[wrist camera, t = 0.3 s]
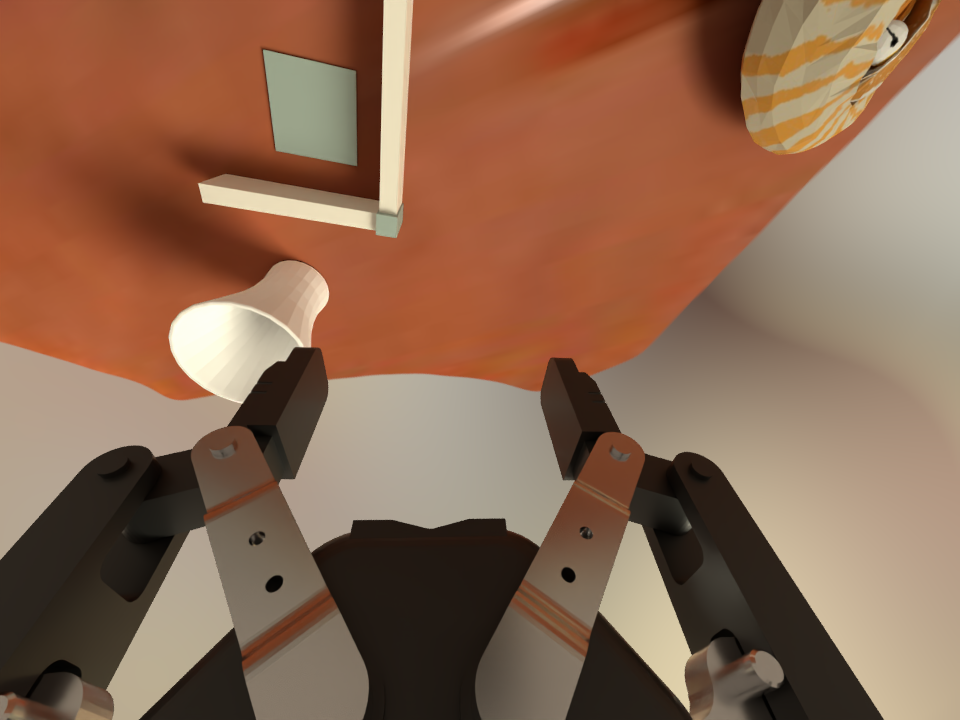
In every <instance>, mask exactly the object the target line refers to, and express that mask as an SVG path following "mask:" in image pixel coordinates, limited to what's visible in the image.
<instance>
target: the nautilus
mask: <svg viewBox="0 0 960 720" xmlns="http://www.w3.org/2000/svg"><path fill="white" fill-rule="evenodd" d="M940 2H941V0H762V2H761V4H760V6H759V8H758V10H757V13H756V16H755V19H754V22H753V24H752V27H751V30H750V33H749V37H748V40H747V43H746V47H745V50H744V53H743V57H742V66H741V100H742V105H743V110H744V116H745V121H746V126H747V129H748V131H749V133H750V135H751V137H752V139H753V141H754V142H755V143H756V144H758V145H760V146H761V147H763V148H764V149H766V150H768V151H770V152H773V153H775V154H793V153H801V152H803V151H806V150H809V149H811V148H814V147H816V146H818V145H820V144H822V143H824V142H825V141H827V140H829V139H830V138H832V137H834V136H835V135H837V134H838V133H840V132H841V131H842V130H844V129H845V128H847V127H848V126H850V125H851V124H852V123H853V122H854V121H855V120H856V118H857V117H858V116H859V115H860V114H861V113H862V111H863V110H864V109H865V107H866V106H867V104H868V102H869V101H870V99H871V97H872V96H873V94H874V92H875V90H876V89H877V88H878V87H879V86H880V85H881V84H882V82H883V81H884V80H885V79H886V78H887V77H888V75H889V74H890V73H891V72H892V71H893V70H894V68H895V67H896V66H897V65H898V64H899V63H900V61H901V60H902V59H903V58H904V57H905V56H906V54H907V53H908V52H909V51H910V49H911V48H912V47H913V45H914V44H915V43H916V41H917V40H918V39H919V37H920V36H921V35H922V34H923V32H924V31H925V29H926V28H927V27H928V25H929V23H930V20H931V18H932V16H933V14H934V12H935V10H936V9H937V7H938V5H939V3H940Z"/></svg>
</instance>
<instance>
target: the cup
mask: <svg viewBox="0 0 960 720" xmlns="http://www.w3.org/2000/svg"><path fill="white" fill-rule="evenodd" d="M328 298H329V290H328V286H327V284H326V282H325V280H324V278H323V277H322V276H321V275H320V273H319V272H317V271H316V270H315V269H314V268H313V267H311V266H309V265H307V264H305V263H302V262H298V261H290V260H287V261H282V262H279V263H277V264H275V265H274V266H273V267H272V268H271V269H270V270H269V272H268V273H267V274H266V276H265V277H264V279H262V280H261V281H260V282H259V283H257V284H256V285H255V286H253V287H251V288H249V289H247V290H245V291H242V292H238V293H235V294H231V295H228V296H224V297H221V298H217V299H213V300H209V301H206V302H202V303H198V304H194V305H192V306H190V307H188V308H187V309H185V310H183V311H181V312H180V313H179V314H178V316H177V317H176V318H175V319H174V321H173V322H172V323H171V328H170V332H169V341H170V347H171V352H172V354H173V355H174V357H175V359H176V361H177V363H178V365H179V366H180V367H181V368H182V369H183V370H184V372H185V373H186V374H187V375H188V376H189V377H190V378H191V379H192V380H194V381H195V382H196V383H198V384H199V385H200V386H202V387H203V388H204V389H206V390H208V391H210V392H212V393H214V394H216V395H218V396H220V397H222V398H225V399H228V400H231V401H234V402H238V403H243V402H244V401H245V399H246V398H247V396H248V395H249V393H251V390H252V389H253V387H254V386H255V384H257V381H258V380H259V378H260V377H261V375H262V374H263V372H264V371H265V370H266V369H267V368H269V367H270V366H272V365H273V364H274V363H276V362H277V361H286V360H287V358H288V356H289V355H290V353H291V351H292V350H293V348H295V347H311V332H312V328H313V323H314V321H315V318H316V316H317V314H318V313H319V312H320V311H321V310H322V309H323V308H324V307H325V305H326V303H327V301H328Z"/></svg>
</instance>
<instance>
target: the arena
mask: <svg viewBox="0 0 960 720" xmlns="http://www.w3.org/2000/svg"><path fill="white" fill-rule="evenodd" d="M412 12H413V0H384V16H383V63H382V110H381V157H380V201H378V200H372V199H366V198H361V197H355V196H349V195H344V194H338V193H332V192H327V191H321V190H315V189H310V188H304V187H298V186H293V185H287V184H281V183H275V182H270V181H264V180H258V179H253V178H247V177H241V176H236V175H230V174H224V175H221V176H218V177H215V178H212V179H209V180H206V181H203V182H200V183H198V184H199V188H200V192H201V196H202V200H203V202H204V203H210V204H216V205H222V206H228V207H234V208H241V209H247V210H253V211H259V212H265V213H271V214H278V215H284V216H290V217H296V218H302V219H308V220H315V221H321V222H327V223H333V224H339V225H345V226H351V227H358V228H364V229H370V230H376V235H381V236H387V237H393V238H397V235H398V232H399V230H400V227H401V224H402V220H403V203H402V193H403V175H404V157H405V139H406V121H407V103H408V85H409V67H410V48H411V30H412ZM263 53H264V61H265V69H266V77H267V85H268V93H269V101H270V108H271V116H272V124H273V132H274V140H275V148H276V151H280V152H285V153H291V154H296V155H301V156H306V157H312V158H317V159H322V160H328V161H333V162H338V163H343V164H349V165H354V166H357V102H356V71H354V70H350V69H345V68H341V67H337V66H332V65H328V64H324V63H319V62H315V61H311V60H306V59H302V58H298V57H293V56H289V55H285V54H281V53H276V52H272V51H268V50H263Z"/></svg>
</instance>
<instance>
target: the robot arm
mask: <svg viewBox="0 0 960 720" xmlns="http://www.w3.org/2000/svg"><path fill="white" fill-rule="evenodd" d="M327 396H328V380H327V375H326V370H325V366H324V361H323V356H322V352H321V349H320V348H312V347H295V348H293V350H292V351H291V353H290V355H289V356H288V358H287V360H286V361H277V362H276V363H274V364H273V365H272V366H270V367H269V368H267V369H266V370H265V371H264V372H263V374H262V375H261V377H260V378H259V380H258V381H257V384H255V386H254V387H253V389H252V390H251V393H249V395H248V396H247V398H246V399H245V401H244V402H243V404H242V405H241V407H240V408H239V410H238V411H237V413H236V414H235V416H234V417H233V419H232V420H231V422H230V423H229V425H228V426H227V427H224V428H221V429H218V430H215V431H213V432H211V433H209V434H207V435H206V436H204V437H203V438H202V439H200V440H199V441H198V442H197V444H196V445H195V446H194V447H193V449H191V450H187V451H182V452H177V453H173V454H169V455H164V456H159V457H154V455H153V454H152V452H151V451H150V450H149V449H148V448H146V447H143V446H126V447H121V448H117V449H114V450H111V451H109V452H107V453H104V454H102V455H100V456H99V457H97V458H96V459H94V460H92V461H91V462H90V463H88V464H87V465H86V466H85V467H84V468H83V469H82V470H81V471H80V472H79V473H78V474H77V475H76V476H75V477H74V479H73V480H72V481H71V482H70V483H69V484H68V485H67V486H66V488H65V489H64V490H63V491H62V492H61V493H60V494H59V495H58V496H57V498H56V499H55V500H54V501H53V502H52V503H51V504H50V505H49V506H48V508H47V509H46V510H45V511H44V512H43V513H42V514H41V515H40V516H39V518H38V519H37V520H36V521H35V522H34V523H33V524H32V525H31V526H30V528H29V529H28V530H27V531H26V532H25V533H24V534H23V535H22V536H21V538H20V539H19V540H18V541H17V542H16V543H15V544H14V545H13V547H12V548H11V549H10V550H9V551H8V552H7V553H6V555H4V557H3V558H2V559H1V560H0V720H112V717H113V713H114V703H113V698H112V696H111V694H110V693H109V692H108V691H106V689H107V687H108V685H109V683H110V681H111V679H112V677H113V676H114V674H115V672H116V670H117V668H118V666H119V664H120V662H121V660H122V659H123V657H124V655H125V653H126V651H127V649H128V647H129V645H130V643H131V642H132V640H133V638H134V636H135V634H136V632H137V630H138V628H139V626H140V624H141V623H142V621H143V619H144V617H145V615H146V613H147V611H148V609H149V607H150V605H151V604H152V602H153V600H154V598H155V596H156V594H157V592H158V590H159V588H160V587H161V585H162V583H163V581H164V579H165V577H166V575H167V573H168V571H169V569H170V567H171V566H172V564H173V562H174V560H175V558H176V556H177V554H178V552H179V550H180V548H181V547H182V545H183V543H184V541H185V539H186V537H187V535H188V533H189V532H190V530H193V529H196V528H200V527H204V526H206V529H207V533H208V536H209V540H210V543H211V547H212V550H213V554H214V557H215V561H216V564H217V568H218V571H219V575H220V579H221V582H222V586H223V589H224V593H225V596H226V600H227V602H228V606H229V610H230V614H231V617H232V621H233V624H234V628H233V629H231V630H230V632H228V634H226V635H225V636H224V637H223V638H222V639H221V640H220V641H219V642H218V643H217V644H216V645H215V646H214V647H213V648H212V649H211V650H210V651H209V652H208V653H207V654H206V655H205V656H204V657H203V658H202V659H201V660H200V661H199V662H198V663H197V664H196V665H195V666H194V667H193V668H191V669H190V670H189V672H187V673H186V674H185V675H184V676H183V677H182V678H181V679H180V680H179V681H178V682H177V683H176V684H175V685H174V686H173V687H172V688H171V689H170V690H169V691H168V692H167V693H166V694H165V695H164V696H163V697H162V698H161V699H160V700H159V701H158V702H157V703H156V704H155V705H154V706H152V707H151V708H150V709H149V710H148V711H147V713H145V714H144V715H143V716H142V717H141V718H140V719H139V720H884V719H883V718H882V716H881V714H880V713H879V711H878V710H877V708H876V707H875V706H874V704H873V702H872V701H871V699H870V698H869V696H868V694H867V693H866V691H865V690H864V688H863V687H862V685H861V684H860V682H859V681H858V679H857V678H856V676H855V675H854V673H853V671H852V670H851V668H850V667H849V665H848V664H847V662H846V661H845V659H844V658H843V656H842V655H841V653H840V652H839V650H838V648H837V647H836V645H835V644H834V642H833V641H832V639H831V638H830V636H829V635H828V633H827V632H826V630H825V629H824V627H823V625H822V624H821V622H820V621H819V619H818V618H817V616H816V615H815V613H814V612H813V610H812V609H811V608H810V606H809V604H808V602H807V601H806V599H805V598H804V597H803V595H802V593H801V592H800V590H799V589H798V587H797V586H796V584H795V583H794V581H793V580H792V578H791V576H790V575H789V573H788V572H787V570H786V569H785V567H784V566H783V564H782V563H781V561H780V560H779V558H778V557H777V555H776V554H775V552H774V550H773V549H772V547H771V546H770V544H769V543H768V541H767V540H766V538H765V537H764V535H763V534H762V532H761V530H760V529H759V527H758V526H757V524H756V523H755V521H754V520H753V518H752V517H751V515H750V514H749V512H748V511H747V509H746V507H745V506H744V504H743V503H742V501H741V500H740V498H739V497H738V495H737V494H736V492H735V491H734V489H733V488H732V486H731V485H730V483H729V481H728V480H727V478H726V477H725V475H724V474H723V472H722V471H721V470H720V469H719V467H718V466H717V465H715V464H714V463H713V462H712V461H710V460H709V459H707V458H705V457H703V456H701V455H699V454H696V453H691V452H683V453H680V454H678V455H676V457H675V458H674V460H673V461H669V460H665V459H662V458H658V457H655V456H650V455H648V454H645V453H644V451H643V449H642V448H641V447H640V445H639V444H638V443H637V442H636V441H635V440H633V439H632V438H630V437H628V436H626V435H624V434H621V432H620V430H619V428H618V426H617V424H616V422H615V420H614V418H613V416H612V414H611V412H610V410H609V408H608V406H607V404H606V403H605V400H604V398H603V396H602V395H601V392H600V390H599V388H598V386H597V384H596V382H595V381H594V380H593V379H592V378H591V377H590V376H589V375H588V374H586V373H585V372H578V369H577V367H576V365H575V363H574V361H573V359H571V358H550V360H549V362H548V366H547V370H546V374H545V378H544V381H543V385H542V389H541V406H542V409H543V413H544V416H545V420H546V423H547V427H548V430H549V433H550V437H551V440H552V444H553V447H554V451H555V454H556V457H557V461H558V464H559V468H560V471H561V475H562V478H563V480H575V482H574V484H573V485H572V487H571V489H570V491H569V493H568V495H567V497H566V499H565V501H564V503H563V504H562V506H561V508H560V510H559V512H558V514H557V516H556V518H555V520H554V522H553V524H552V526H551V527H550V529H549V531H548V533H547V535H546V537H545V539H544V541H543V543H542V545H541V547H539V546H538V545H536V544H535V543H533V542H532V541H530V540H529V539H527V538H525V537H523V536H522V535H519V534H517V533H514V532H511V531H508V530H507V529H506V521H505V519H467V520H464V521H460V522H456V523H452V524H449V525H445V526H441V527H438V528H434V529H427V528H423V527H419V526H415V525H410V524H407V523H402V522H398V521H395V520H354V521H353V525H352V529H351V533H348V534H344V535H342V536H339V537H337V538H334V539H332V540H331V541H329V542H326V543H325V544H323V545H322V546H320V547H319V548H317V549H316V550H314V551H313V552H312V553H311V552H310V550H309V548H308V546H307V544H306V542H305V540H304V538H303V535H302V534H301V531H300V529H299V527H298V525H297V523H296V521H295V519H294V517H293V515H292V512H291V510H290V508H289V506H288V504H287V502H286V500H285V498H284V496H283V494H282V492H281V490H280V487H279V482H280V480H281V479H295V477H296V474H297V472H298V470H299V467H300V465H301V462H302V460H303V457H304V455H305V452H306V450H307V447H308V444H309V442H310V440H311V437H312V435H313V432H314V430H315V427H316V425H317V422H318V420H319V417H320V415H321V412H322V410H323V407H324V405H325V402H326V400H327ZM628 521H631V522H634V523H638V524H641V525H642V527H643V529H644V532H645V534H646V537H647V540H648V542H649V545H650V547H651V550H652V552H653V555H654V558H655V560H656V563H657V566H658V568H659V571H660V573H661V576H662V578H663V581H664V584H665V586H666V589H667V592H668V594H669V597H670V599H671V602H672V605H673V607H674V610H675V612H676V615H677V617H678V620H679V623H680V625H681V628H682V631H683V633H684V636H685V638H686V641H687V644H688V646H689V649H690V651H691V654H692V656H691V657H690V658H689V659H688V661H687V663H686V666H685V682H686V686H687V690H688V697H689V701H690V713H689V712H688V711H687V710H686V708H685V707H684V706H683V704H682V703H681V702H680V700H679V699H678V698H677V697H676V696H675V695H674V694H673V692H672V691H671V690H670V689H669V688H668V687H667V686H666V685H665V684H664V682H662V680H661V679H660V678H659V677H658V676H657V675H656V674H655V673H654V671H653V670H652V669H651V668H650V667H649V666H648V665H647V664H646V663H645V662H644V660H643V659H642V658H641V657H640V656H639V655H638V654H637V653H636V652H635V651H634V649H633V648H632V647H631V646H630V645H629V644H628V643H627V642H626V641H625V640H624V638H623V637H622V636H621V635H620V634H619V633H618V632H617V631H616V630H615V628H614V627H613V626H612V625H611V624H610V623H609V622H608V621H607V620H606V619H605V617H604V616H603V615H602V614H601V613H600V612H599V611H598V610H599V607H600V604H601V601H602V598H603V595H604V591H605V589H606V586H607V583H608V580H609V577H610V573H611V571H612V568H613V565H614V561H615V558H616V555H617V552H618V550H619V547H620V543H621V540H622V538H623V534H624V531H625V528H626V526H627V523H628Z"/></svg>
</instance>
